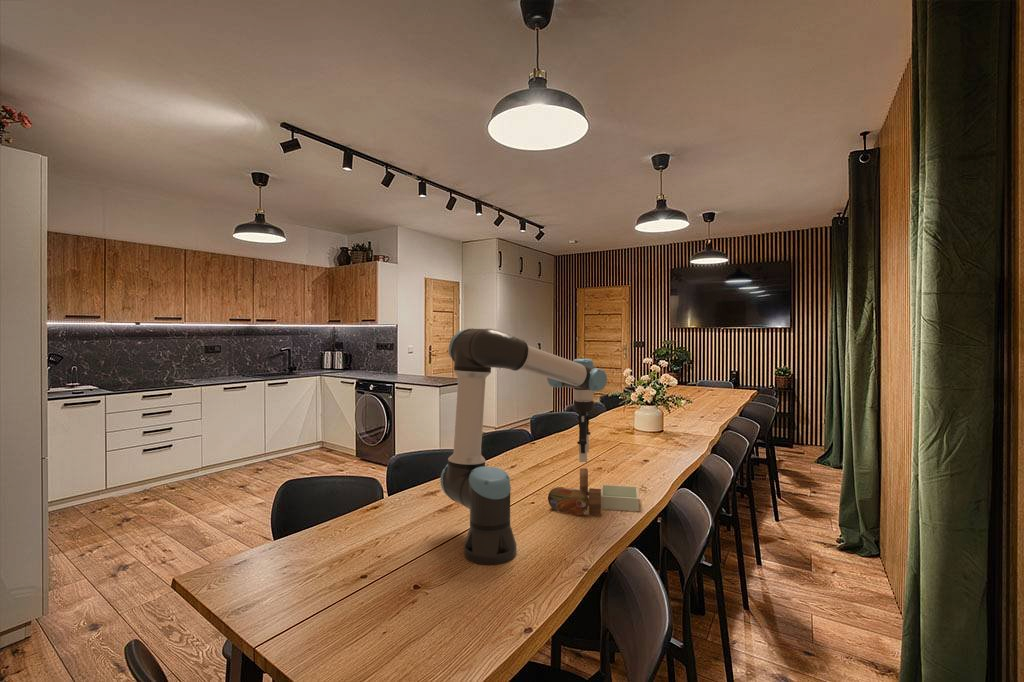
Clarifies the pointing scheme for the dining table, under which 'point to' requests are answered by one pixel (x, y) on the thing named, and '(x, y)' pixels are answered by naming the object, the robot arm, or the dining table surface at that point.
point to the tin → (568, 500)
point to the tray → (619, 498)
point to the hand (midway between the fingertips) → (584, 456)
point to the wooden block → (594, 501)
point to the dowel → (584, 480)
